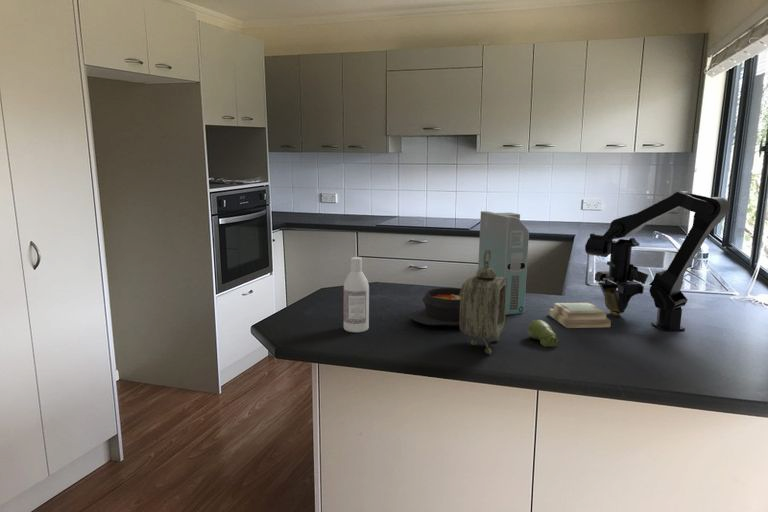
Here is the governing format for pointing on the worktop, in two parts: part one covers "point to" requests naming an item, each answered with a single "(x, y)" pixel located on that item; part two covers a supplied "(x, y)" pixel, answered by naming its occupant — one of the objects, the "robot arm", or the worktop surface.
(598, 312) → the oak plinth
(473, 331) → the tabletop clock
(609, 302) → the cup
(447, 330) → the worktop surface
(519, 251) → the light blue cardboard box
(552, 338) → the pear
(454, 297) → the casserole
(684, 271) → the robot arm
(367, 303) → the bath foam
